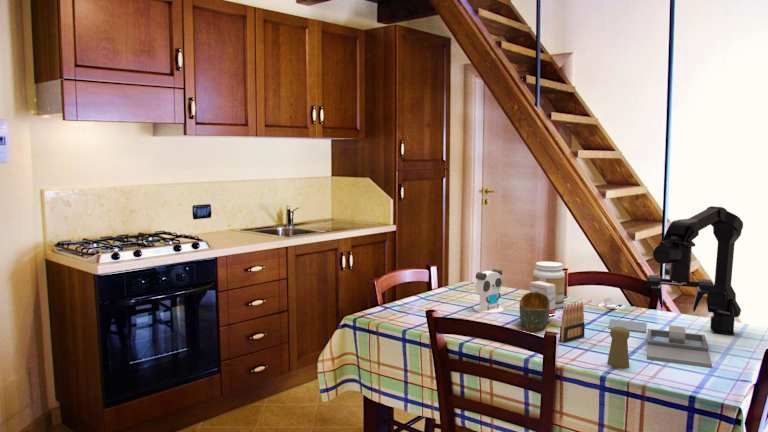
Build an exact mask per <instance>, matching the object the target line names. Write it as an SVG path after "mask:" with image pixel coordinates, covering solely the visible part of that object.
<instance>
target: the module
mask: <svg viewBox="0 0 768 432" xmlns="http://www.w3.org/2000/svg"><path fill="white" fill-rule="evenodd" d="M668 331H669V338H667V339H668V341H667V342H668V343H677V344H685V345H686V340H685V333H686V329H685V326H677V325H669V326H668Z"/></svg>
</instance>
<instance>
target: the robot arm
mask: <svg viewBox="0 0 768 432" xmlns="http://www.w3.org/2000/svg"><path fill="white" fill-rule="evenodd" d="M708 226H711V227H712V231H713V232H712V233H713V236H714V237H715V239H716V241H717V248H716V261H715V262H716V263H715V272H714V275H715V276H714V282H713V281H712V280H711V279H704V278H698V280H697V281H696V280H695V281H694V280H690V278H691V277H690V276H691V264H692V247H696V243H695V242H694V241H693V240H694V239H696V238H697V237H698V236H699V233H700V231H701V230H703V229H705V228H707V227H708ZM743 228H744V222H743V220H742V219H741V218H740V217H739V216H738V215H736V214H734V213H732V212H730V211H729V210H727V209H726V208H724V207H723V206H713V205H711V206H708V207H707V208H706V209H704V210H702V211H701V212H699V213H697V214H695V215H693V216H691V217H689V218H683V219H676V220H673V221H671V223H670V224H669V226H668V228H667V229H666V231H665V234H664V236H663V238H662V240H661V241H659V245H657V246H656V247H655V248H654V249H653V252H652V256H653V257H652V258H653V259H654V261H655V262H656V263H658V264H660V265H664V276H668V278H662V276H661V275H655V274H649V275H647V278H646V280H647V281H646V286H647V287H651V290H654V291H655V294H656V295H657V298H658V302H659V306H660V309H663V308H664V304H663V303H664V300H663V292H662V290H663V289H662V285H666V286H676V287H677V286H679V287H689V288H696V290H695V295H694V300H693V307H692V312H693V313H695V311H696V310H697V307H698V306H699V303H700V301H701V300H702V298H703V297H704V296H705V295H706V306H707V312H708V313H712V315H710V321H709V322H710V323H709V324H710V326H709V328H710V330H711V331H712V333H714V334H724V335H733V336H734V335H735V318H739V317H740V316H741V312H742V309H741V307H740V305H739V304H738V302H737V299H736V298H737V296H736V292H735V290H734V288H733V287H732V277H733V266H734V253H735V244H736V242H737V240H738V239H739V238H740V237H741V236H742V230H743Z"/></svg>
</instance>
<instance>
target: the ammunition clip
mask: <svg viewBox="0 0 768 432" xmlns="http://www.w3.org/2000/svg"><path fill="white" fill-rule="evenodd" d="M584 308H585V307H584V302H583V301H580V302H577V304H576V302H574V303H571V304H567V305H563V309H562V316H561V325H560V327H559V328H560V329H559V343H563V344H566V343H568V342H572V341H576V340H580V339H584V338H585V323H586V322H585V313H584Z"/></svg>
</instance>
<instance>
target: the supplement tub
mask: <svg viewBox="0 0 768 432" xmlns="http://www.w3.org/2000/svg"><path fill="white" fill-rule="evenodd" d="M563 266H564V265H563V263H562V262H557V261H537V262H535V267H534V268H535V269H534V270H533V271H532V272H533V273H532V282H536V281H542V282H546V283H550V284H554V285H555V310H557V309H561V308H562V307H563V308H564V306H565V305H564V304H565V284H566V283H565V282H566V281H565V280H566V275H565V271H564V270H563V269H564V267H563Z"/></svg>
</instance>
